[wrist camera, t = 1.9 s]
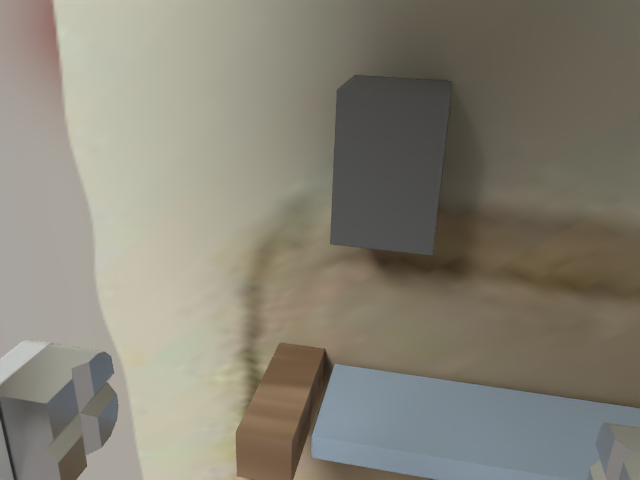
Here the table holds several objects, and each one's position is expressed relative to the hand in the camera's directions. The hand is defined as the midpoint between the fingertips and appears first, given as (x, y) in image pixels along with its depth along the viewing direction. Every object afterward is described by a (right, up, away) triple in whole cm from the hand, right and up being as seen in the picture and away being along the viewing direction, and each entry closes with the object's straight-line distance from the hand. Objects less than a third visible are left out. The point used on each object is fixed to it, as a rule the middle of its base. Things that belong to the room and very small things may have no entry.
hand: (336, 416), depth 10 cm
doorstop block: (+3, +7, +16) cm, 18 cm away
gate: (+9, -5, +19) cm, 22 cm away
